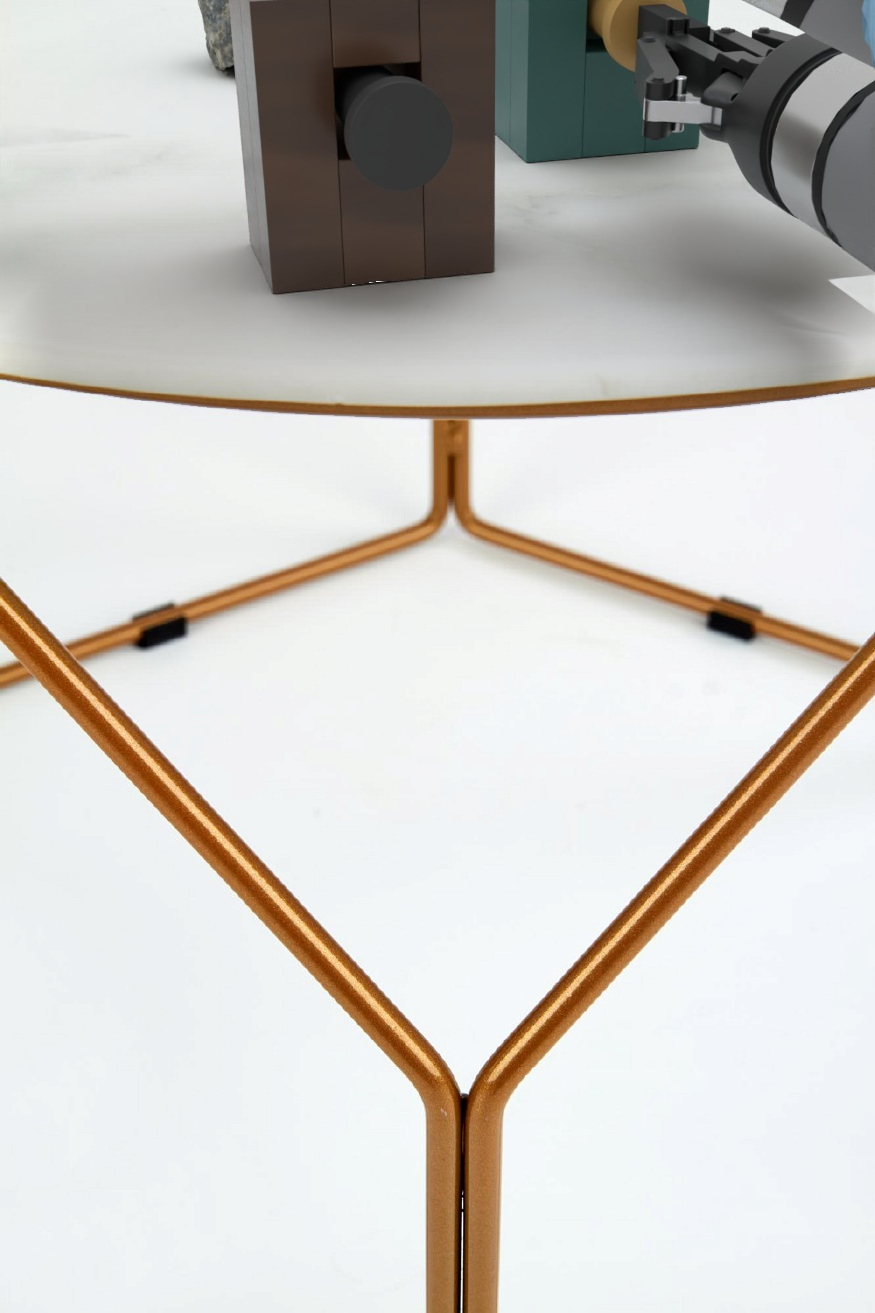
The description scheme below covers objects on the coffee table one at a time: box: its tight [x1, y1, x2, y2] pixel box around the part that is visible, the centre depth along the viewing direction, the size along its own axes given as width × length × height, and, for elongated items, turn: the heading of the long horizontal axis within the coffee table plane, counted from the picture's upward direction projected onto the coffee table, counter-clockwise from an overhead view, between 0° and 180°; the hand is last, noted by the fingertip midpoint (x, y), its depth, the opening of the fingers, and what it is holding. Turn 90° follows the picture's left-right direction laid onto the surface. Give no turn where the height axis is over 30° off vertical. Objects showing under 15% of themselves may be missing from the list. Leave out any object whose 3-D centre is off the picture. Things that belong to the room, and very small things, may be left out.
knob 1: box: [335, 65, 453, 191], centre depth 67 cm, size 7×5×5 cm, turn 14°
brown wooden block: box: [229, 0, 496, 294], centre depth 72 cm, size 8×11×13 cm
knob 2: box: [586, 0, 687, 72], centre depth 85 cm, size 7×5×5 cm, turn 14°
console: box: [495, 0, 711, 163], centre depth 90 cm, size 8×11×13 cm
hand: (650, 31), depth 82 cm, fingers closed
